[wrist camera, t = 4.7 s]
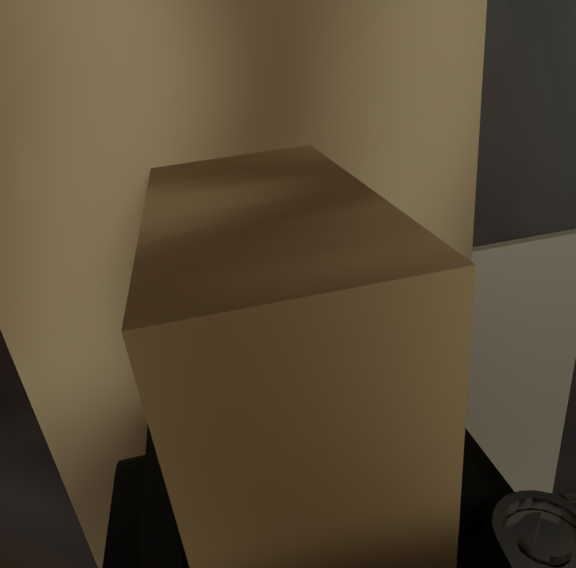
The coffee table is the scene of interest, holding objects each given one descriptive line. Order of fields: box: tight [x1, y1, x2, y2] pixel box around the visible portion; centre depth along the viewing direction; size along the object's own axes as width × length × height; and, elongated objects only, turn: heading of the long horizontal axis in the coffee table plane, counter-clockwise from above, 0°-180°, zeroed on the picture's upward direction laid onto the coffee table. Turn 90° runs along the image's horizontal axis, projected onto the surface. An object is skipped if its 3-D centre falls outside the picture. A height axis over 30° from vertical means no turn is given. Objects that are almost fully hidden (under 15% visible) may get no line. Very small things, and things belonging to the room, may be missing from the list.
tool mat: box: [465, 229, 576, 493], centre depth 34 cm, size 15×22×1 cm
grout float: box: [0, 0, 487, 568], centre depth 10 cm, size 10×18×7 cm, turn 6°
